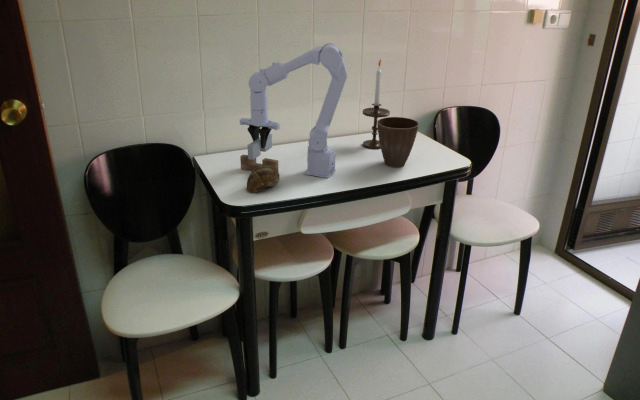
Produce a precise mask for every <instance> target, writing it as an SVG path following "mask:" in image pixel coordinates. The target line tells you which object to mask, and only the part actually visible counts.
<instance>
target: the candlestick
mask: <svg viewBox="0 0 640 400" xmlns="http://www.w3.org/2000/svg"><path fill="white" fill-rule="evenodd" d="M381 62H382V60H381V59H379V61H378V68H377V70H376V73H375V74H376V75H375V89H374V91H375V93H374V103H372V104H371V105H372V106H373V107H367V108H364V109H362V114H363V116H366V117H369V118H373V125H372V126H371V130H372V132H371V135H372V139H366V140H363V142H362V146H363V147H364V148H365V149H368V150H369V149H371V150H381V147H380V142H379V139H377V135H378V125H377V121H378V119H379V118H387V117H390V114H391V111H390V110H389V109H387V108H382V107H381V106H382V104H381V103H380V99H381V98H380V97H381V96H380V95H381V83H382V70H381Z"/></svg>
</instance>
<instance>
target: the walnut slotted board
mask: <svg viewBox="0 0 640 400" xmlns="http://www.w3.org/2000/svg"><path fill="white" fill-rule="evenodd" d="M239 157H240V159H239V160H240V170H244V171H248V172H252V171H253V170H254V169H256V168H257V167H259V166H265V165H266V166H272V167H274V168H275V169H276V170H277V171H278V172H279V159H272V158H267V157H265V158H263V159H262V161H261V162H262V163H258V162H257V158H255V159H254V160H251V159H248V154H241V155H240V156H239ZM279 173H280V172H279Z"/></svg>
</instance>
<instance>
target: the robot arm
mask: <svg viewBox="0 0 640 400" xmlns="http://www.w3.org/2000/svg"><path fill="white" fill-rule="evenodd" d="M320 63H321V65H322V66H323V67H324V68H325V69H326V70H327V71H328V72H329V74H330V76H331V79H330V83H329V86H328V88H327V92H326V94H325V97H324V100H323V104H322V106H321V110H320V112H319V115H318V118H317V120H316V122H315V125H314V127H312V128H311V130H309V139H308V143H307V144H308V146H307V169H305V170H304V171H303V172H302V173H303V175H307V176H308V175H309V176H313V177H320V178H325V179H328V178H330V177H331V175H333V174H334V172H336V152H335V150H331V149H330V148H329V145H328V135H329V130H330V127H331V123H332V120H333V117H334V115H335V111H336V109H337V106H338V103H339V101H340V99H341V95H342V92H343V89H344V86H345V83H346V81H347V78H348V73H347V69H346V64H345V61H344V57H343V53H342V52H341V49H340V48H339V47H338V45H336V44H334V43H332V42H327V43H325V44H324V45H320V46H317V47H315V48H312V49H310V50H307V51H306V52H303V53H302V54H301V55H298V56H296V57H295V58H293V59H291V60H289V61H287V62H282V61H278V62H277V61H274V62H272V63H271V64H272V65H270V66H267V67H265V68H260V69H258V70H259V71H256V72H254V73H253V74H252V75H251V76H250V77H249V78H248V79H249V80H248V87H249V89H250V90H249V93H250V95H249V98H250V100H249V101H250V118H249V117H248V118H247V117H246V118H245V117H242V118H240V119H239V125H240V126H245V125H246V126H248V127H247V132H248V133H249V135H250V137H251V138H252V142H253V141H255V140H257V139H258V138H261V148H264V147H266V142H267V138H268V135H269V134H271V131H272V130H275V131H278V130H280V129H281V123H280V122H275V121H272V120H269V115H268V113H269V112H268V110H269V109H268V93H267V91H268V90H267V87H271V86H273V85H275V84H277V83H280V82H282V81H284V80H285V79H288V77H289V74H290V73H291V72H294V71H296V70H298V69H301V68H302V67H305V66H307V65H310V64H312V65H316V66H319V65H320Z"/></svg>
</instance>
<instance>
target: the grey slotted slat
mask: <svg viewBox="0 0 640 400" xmlns="http://www.w3.org/2000/svg"><path fill="white" fill-rule="evenodd" d="M272 148H273V134H272V133H269V135H268V138H267V142H266V147H264V148H261V138H260V137H259V138H258V139H257V140H255V141H253V140H252V142H249V144H247V155H248V159H251V160H254V159H255V158H256V159H258V157H260V156H261V152H263V153H266V152H268V151H269V150H270V149H272Z"/></svg>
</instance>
